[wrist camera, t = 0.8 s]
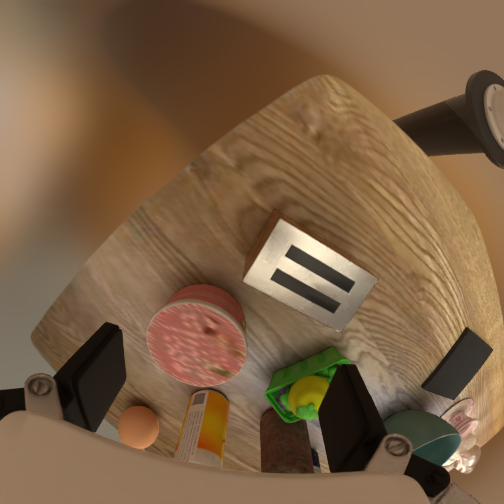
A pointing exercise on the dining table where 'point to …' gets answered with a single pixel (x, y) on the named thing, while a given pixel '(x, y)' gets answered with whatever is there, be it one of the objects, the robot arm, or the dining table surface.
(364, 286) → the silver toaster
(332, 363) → the fruit basket
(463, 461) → the bust
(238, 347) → the container
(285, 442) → the candle
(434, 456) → the plant pot
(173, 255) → the dining table surface
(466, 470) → the cream glossy round piece
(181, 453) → the beer can
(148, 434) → the egg
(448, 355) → the mat
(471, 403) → the teacup
